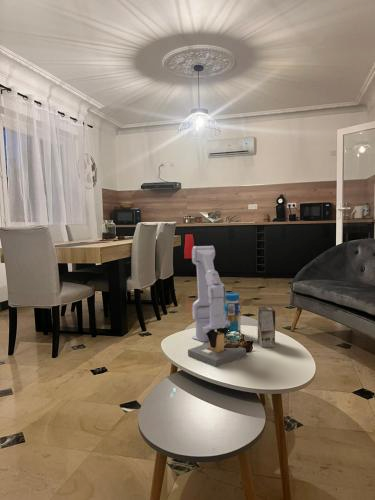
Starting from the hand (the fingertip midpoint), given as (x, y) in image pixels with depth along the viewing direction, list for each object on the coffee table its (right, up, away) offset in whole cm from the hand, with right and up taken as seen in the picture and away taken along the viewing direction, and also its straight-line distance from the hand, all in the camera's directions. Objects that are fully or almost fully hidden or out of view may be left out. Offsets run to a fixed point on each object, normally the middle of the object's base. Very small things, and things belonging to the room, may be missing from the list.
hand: (216, 345), depth 149 cm
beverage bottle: (+10, -2, +28) cm, 30 cm away
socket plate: (0, -4, 0) cm, 4 cm away
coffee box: (+23, -3, +13) cm, 27 cm away
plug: (0, -2, 0) cm, 2 cm away
